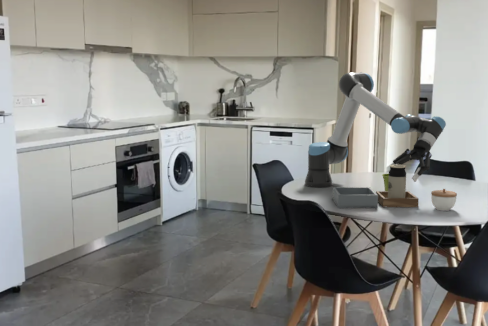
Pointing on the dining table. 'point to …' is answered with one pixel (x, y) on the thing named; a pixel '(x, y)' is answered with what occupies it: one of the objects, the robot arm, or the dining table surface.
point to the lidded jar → (443, 199)
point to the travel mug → (397, 181)
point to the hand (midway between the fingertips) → (402, 177)
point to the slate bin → (355, 197)
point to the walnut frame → (397, 200)
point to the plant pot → (386, 181)
